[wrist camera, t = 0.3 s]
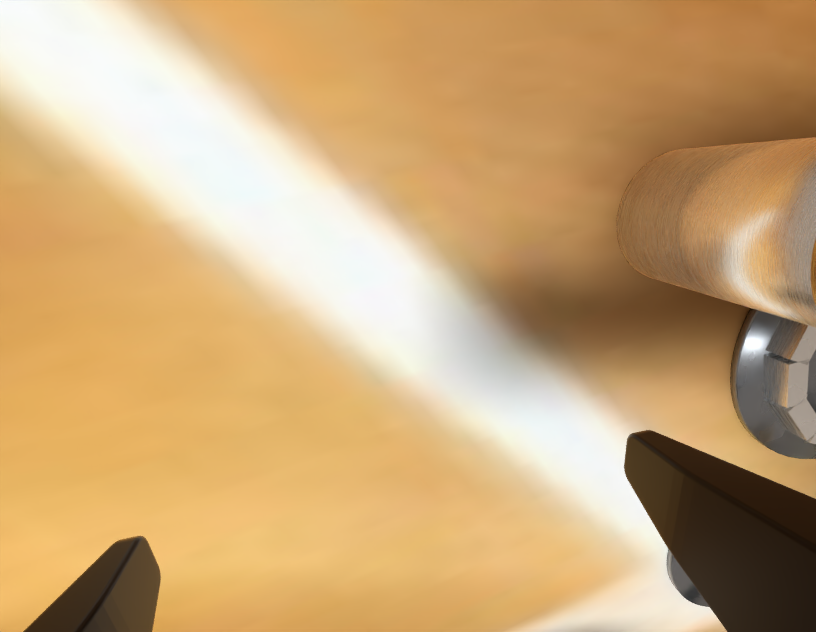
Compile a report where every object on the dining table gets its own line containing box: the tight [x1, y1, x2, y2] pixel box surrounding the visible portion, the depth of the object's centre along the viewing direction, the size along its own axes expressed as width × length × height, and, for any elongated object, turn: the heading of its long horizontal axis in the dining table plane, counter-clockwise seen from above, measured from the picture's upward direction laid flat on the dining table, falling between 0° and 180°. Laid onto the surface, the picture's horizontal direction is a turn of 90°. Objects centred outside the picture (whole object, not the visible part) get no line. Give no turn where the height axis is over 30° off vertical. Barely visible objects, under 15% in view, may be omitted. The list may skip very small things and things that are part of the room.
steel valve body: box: [617, 137, 816, 328], centre depth 17 cm, size 7×7×13 cm
